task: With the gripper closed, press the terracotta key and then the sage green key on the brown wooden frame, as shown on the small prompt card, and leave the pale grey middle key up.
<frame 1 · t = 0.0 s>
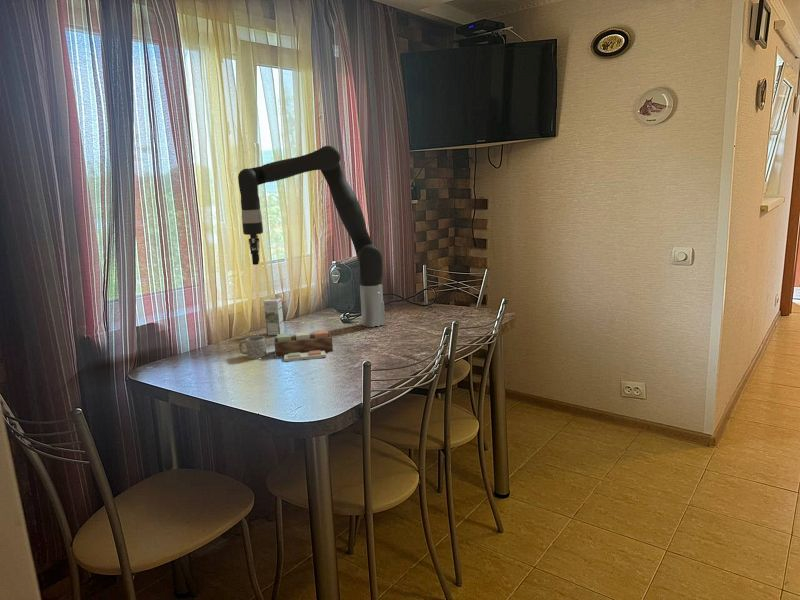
hand: (256, 263, 225), 29 cm above the table, tool pointing down, fingers open, 8 cm apart
mug: (252, 357, 203), on the table
brown wooden frame: (304, 351, 206), on the table
prompt card: (305, 357, 198), on the table
sage key: (284, 338, 204), point 5 cm above the table, slide at 0.0 cm
terracotta key: (321, 335, 206), point 5 cm above the table, slide at 0.0 cm
grey key: (302, 337, 205), point 5 cm above the table, slide at 0.0 cm
syrup box: (275, 334, 232), on the table
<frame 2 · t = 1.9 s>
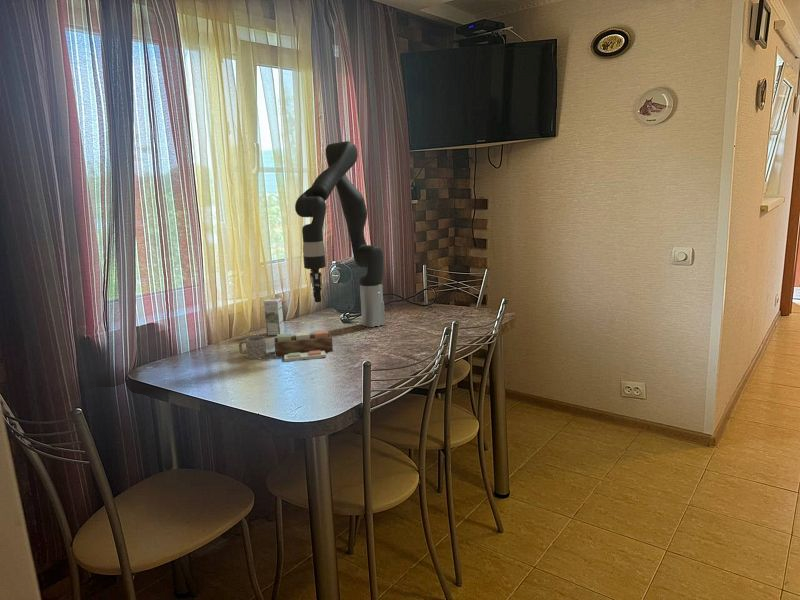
hand: (317, 299, 204), 18 cm above the table, tool pointing down, fingers open, 8 cm apart
nothing on the table moved.
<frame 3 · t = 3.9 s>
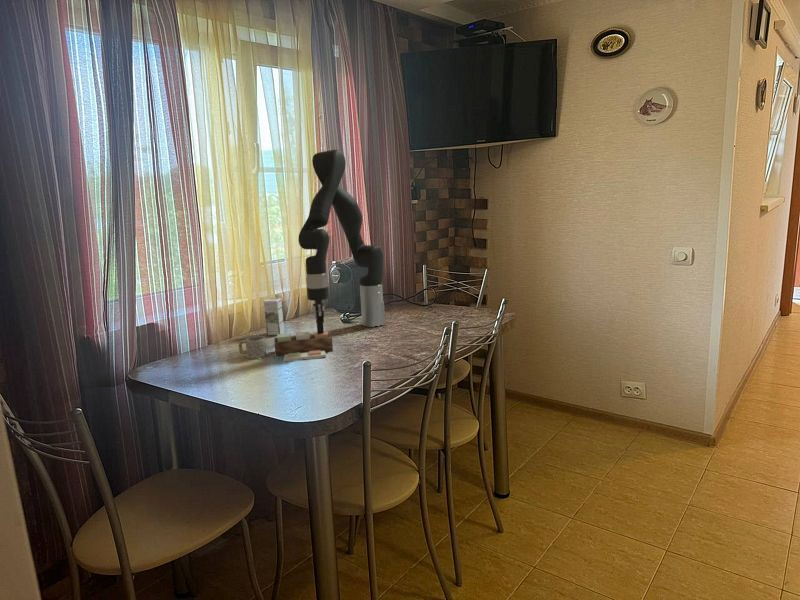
hand: (320, 333, 206), 6 cm above the table, tool pointing down, fingers closed
terracotta key: (321, 336, 206), point 5 cm above the table, slide at 0.5 cm, touching gripper
everything else where it was.
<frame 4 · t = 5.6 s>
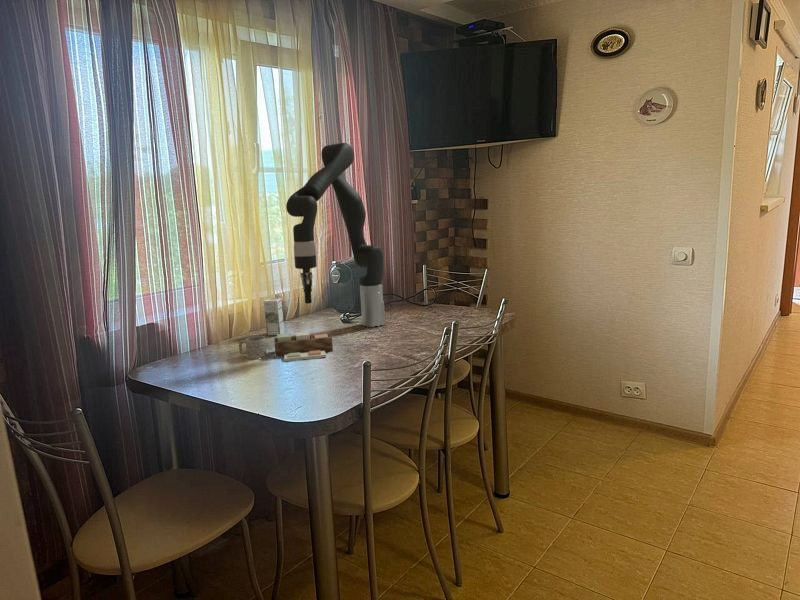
hand: (308, 303, 202), 18 cm above the table, tool pointing down, fingers closed
terracotta key: (321, 339, 206), point 4 cm above the table, slide at 1.5 cm
everything else where it was.
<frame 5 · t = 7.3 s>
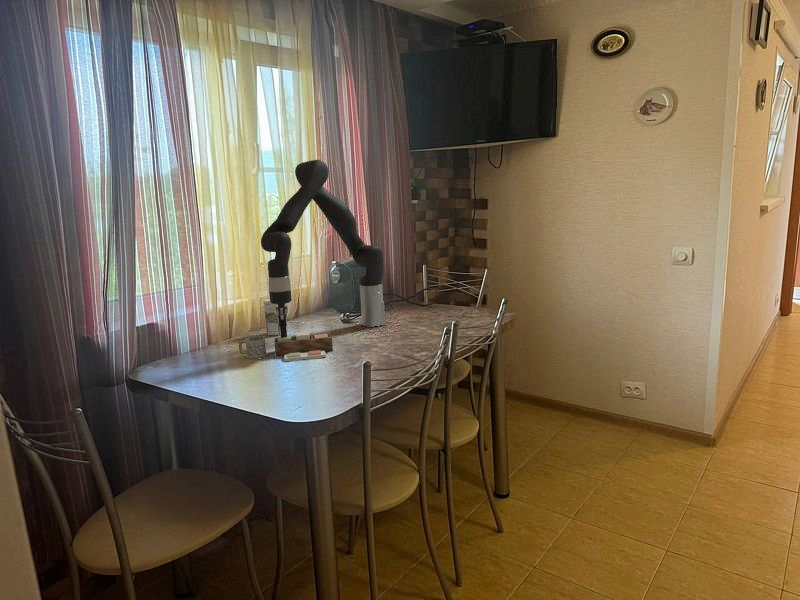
hand: (283, 336, 203), 6 cm above the table, tool pointing down, fingers closed
sage key: (284, 340, 204), point 5 cm above the table, slide at 0.6 cm, touching gripper
everything else where it was.
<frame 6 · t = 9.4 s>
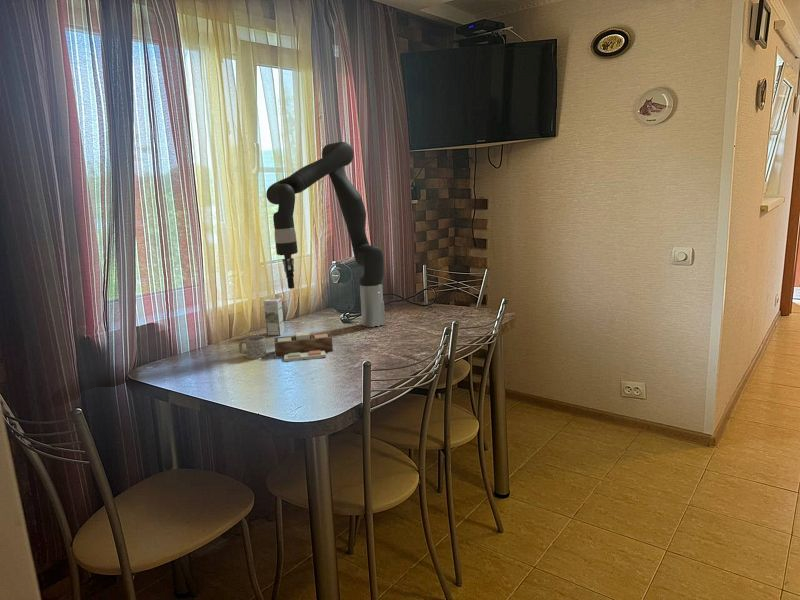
hand: (291, 288, 209), 22 cm above the table, tool pointing down, fingers closed
sage key: (284, 342, 204), point 4 cm above the table, slide at 1.5 cm
everything else where it was.
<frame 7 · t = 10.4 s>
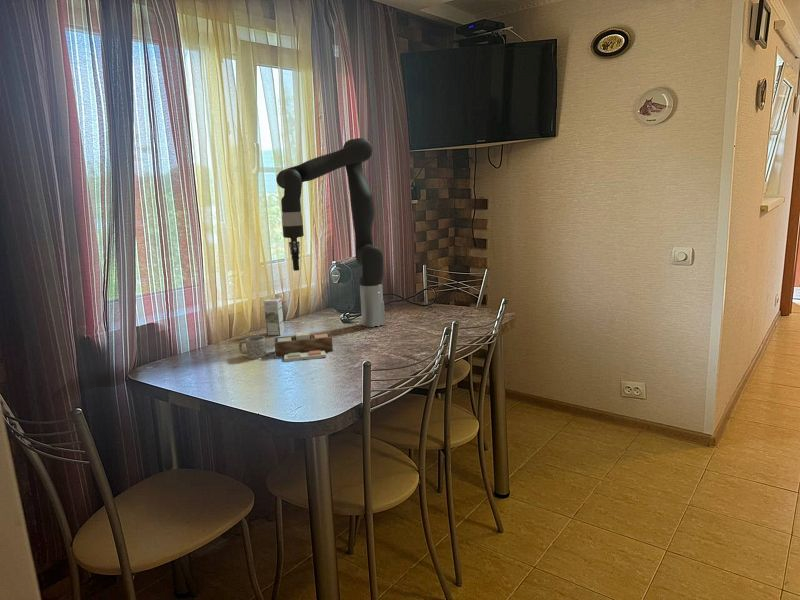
hand: (296, 270, 217), 27 cm above the table, tool pointing down, fingers closed
nothing on the table moved.
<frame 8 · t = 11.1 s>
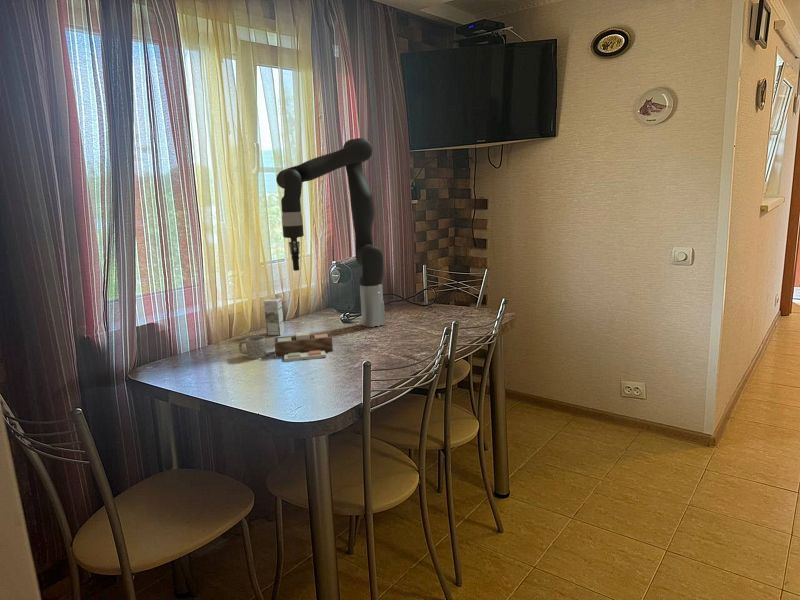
hand: (296, 270, 217), 27 cm above the table, tool pointing down, fingers closed
nothing on the table moved.
at the end: terracotta key slide at 1.5 cm; sage key slide at 1.5 cm; grey key slide at 0.0 cm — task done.
